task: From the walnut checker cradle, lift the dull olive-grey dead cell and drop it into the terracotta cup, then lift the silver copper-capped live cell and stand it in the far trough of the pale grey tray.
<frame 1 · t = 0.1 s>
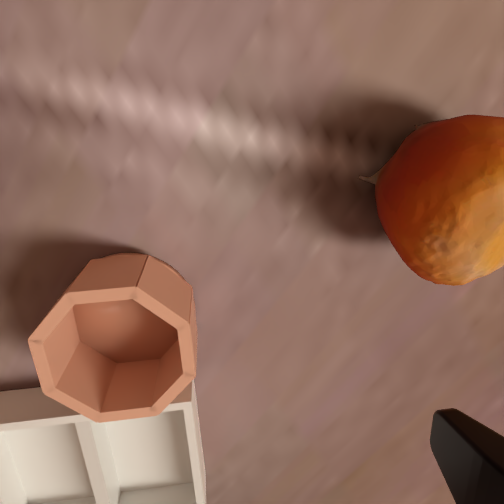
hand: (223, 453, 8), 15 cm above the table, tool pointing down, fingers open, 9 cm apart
cup: (132, 311, 23), on the table
trough tray: (107, 437, 26), on the table
fruit: (421, 185, 22), on the table
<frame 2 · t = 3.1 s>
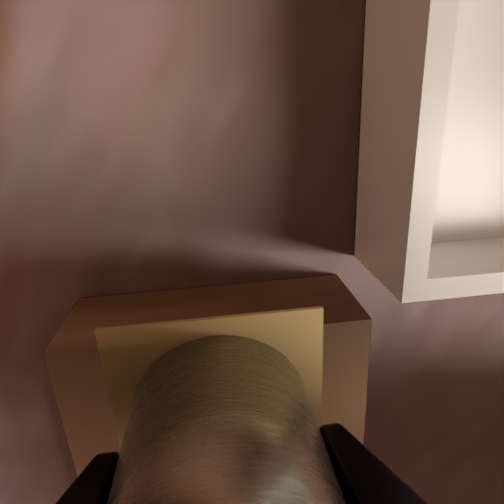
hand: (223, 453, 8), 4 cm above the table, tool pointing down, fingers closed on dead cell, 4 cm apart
cradle: (229, 474, 13), on the table
dead cell: (220, 410, 9), point 2 cm above the table, touching cradle, gripper
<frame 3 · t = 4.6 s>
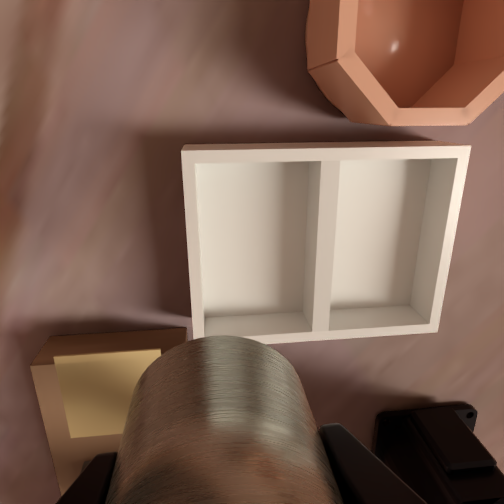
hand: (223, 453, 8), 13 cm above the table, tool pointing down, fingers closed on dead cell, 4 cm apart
cup: (385, 34, 17), on the table
cradle: (134, 435, 23), on the table
dead cell: (219, 410, 9), point 11 cm above the table, touching gripper
trough tray: (309, 233, 20), on the table
when the fingers open (6 cm above the table, at t = 6.6 s): dead cell drops 4 cm, resting on cup.
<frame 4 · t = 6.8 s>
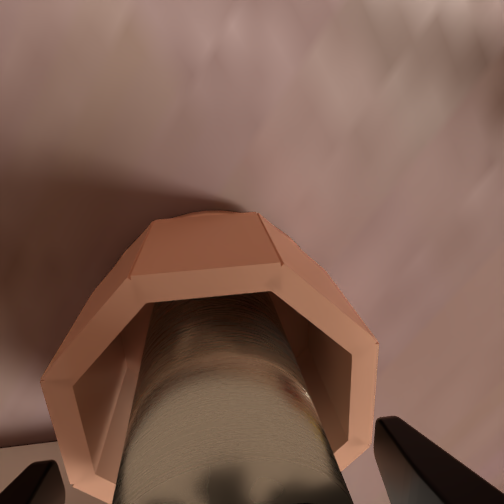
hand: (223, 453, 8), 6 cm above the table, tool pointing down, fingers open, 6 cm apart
cup: (215, 315, 13), on the table
dead cell: (214, 324, 13), point 1 cm above the table, touching cup
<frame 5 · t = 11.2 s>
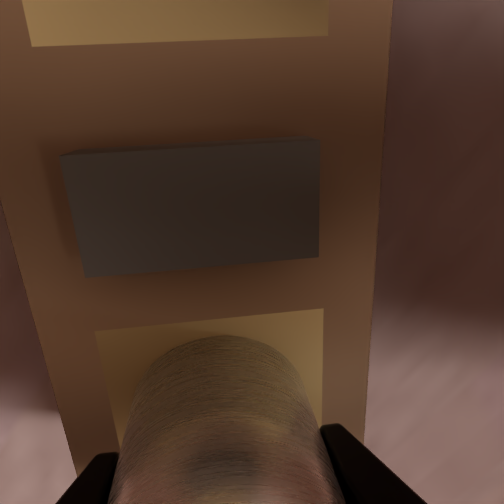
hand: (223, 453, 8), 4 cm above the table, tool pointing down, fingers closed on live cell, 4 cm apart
cradle: (201, 175, 10), on the table
live cell: (220, 410, 9), point 2 cm above the table, touching cradle, gripper
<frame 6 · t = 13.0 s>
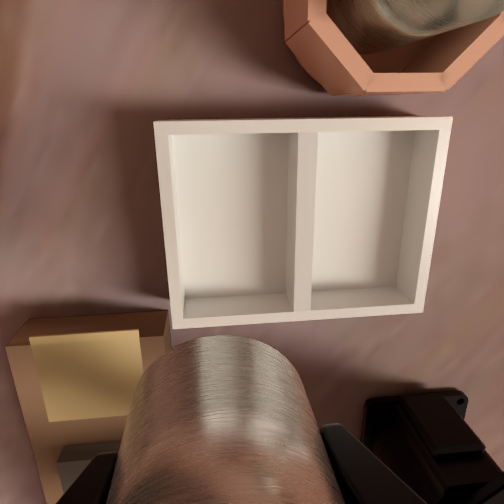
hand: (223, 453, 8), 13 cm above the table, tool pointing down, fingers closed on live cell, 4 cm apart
cup: (365, 5, 17), on the table
cradle: (117, 421, 23), on the table
dead cell: (369, 0, 16), point 1 cm above the table, touching cup
trough tray: (291, 213, 20), on the table
live cell: (220, 410, 9), point 11 cm above the table, touching gripper
when the fingers open (3 cm above the table, at t = 15.2 s): live cell drops 1 cm, resting on trough tray.
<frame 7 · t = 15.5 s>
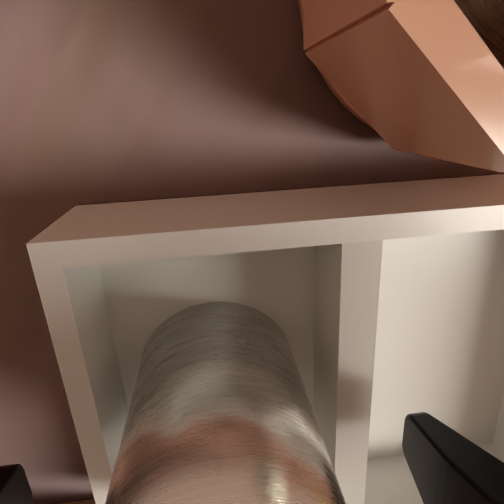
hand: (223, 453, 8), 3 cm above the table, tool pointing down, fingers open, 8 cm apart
trough tray: (319, 340, 11), on the table
live cell: (218, 368, 10), point 1 cm above the table, touching trough tray
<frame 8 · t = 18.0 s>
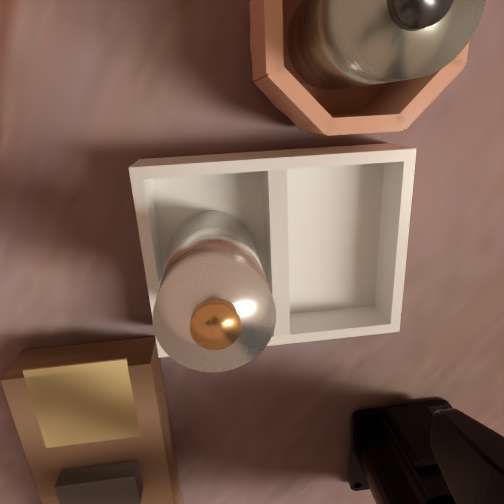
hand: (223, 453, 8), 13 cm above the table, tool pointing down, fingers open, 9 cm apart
cup: (330, 42, 17), on the table
cradle: (113, 442, 24), on the table
dead cell: (332, 39, 17), point 1 cm above the table, touching cup
trough tray: (270, 239, 20), on the table
live cell: (212, 250, 19), point 1 cm above the table, touching trough tray
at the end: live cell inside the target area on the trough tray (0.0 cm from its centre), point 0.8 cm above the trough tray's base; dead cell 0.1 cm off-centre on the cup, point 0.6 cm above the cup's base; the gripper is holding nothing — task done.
